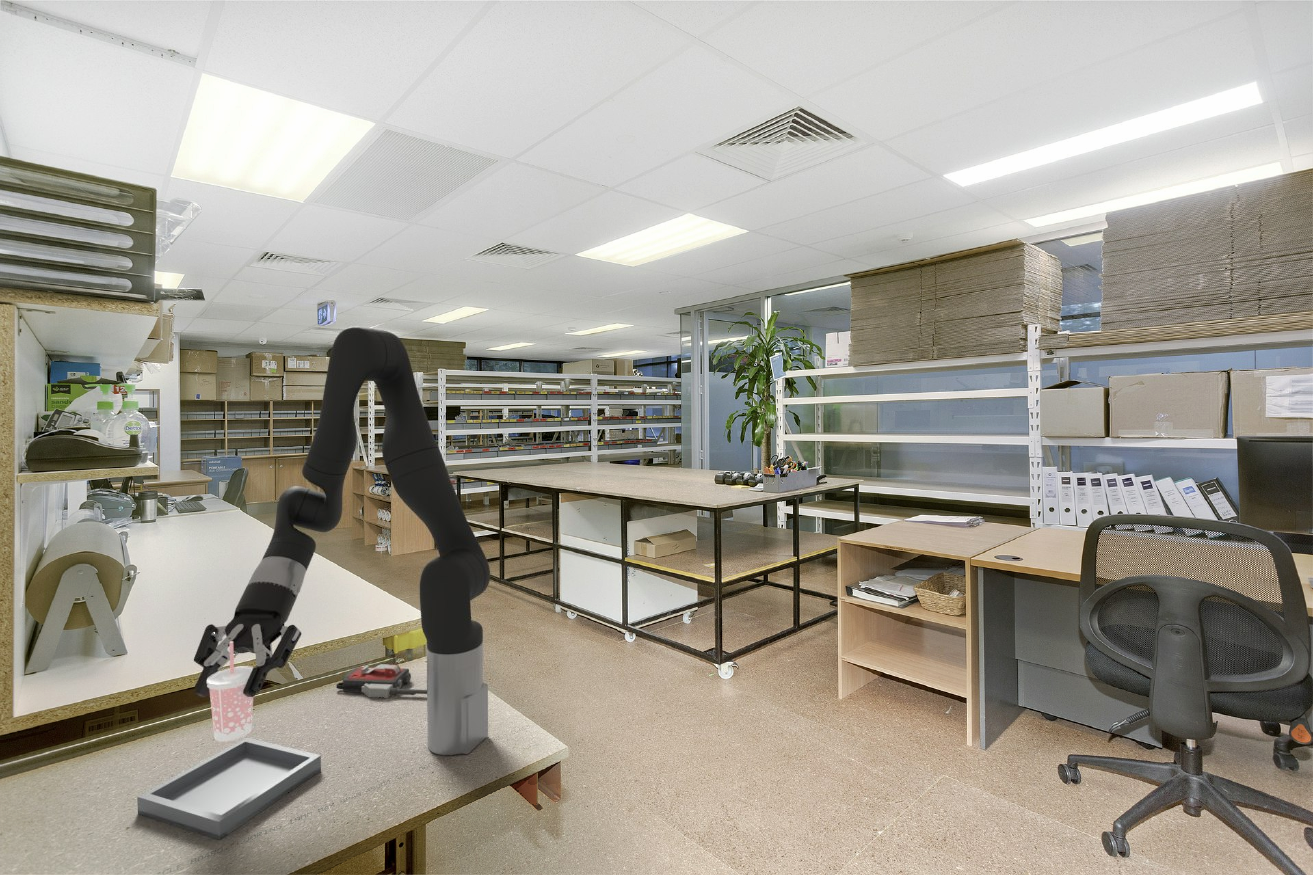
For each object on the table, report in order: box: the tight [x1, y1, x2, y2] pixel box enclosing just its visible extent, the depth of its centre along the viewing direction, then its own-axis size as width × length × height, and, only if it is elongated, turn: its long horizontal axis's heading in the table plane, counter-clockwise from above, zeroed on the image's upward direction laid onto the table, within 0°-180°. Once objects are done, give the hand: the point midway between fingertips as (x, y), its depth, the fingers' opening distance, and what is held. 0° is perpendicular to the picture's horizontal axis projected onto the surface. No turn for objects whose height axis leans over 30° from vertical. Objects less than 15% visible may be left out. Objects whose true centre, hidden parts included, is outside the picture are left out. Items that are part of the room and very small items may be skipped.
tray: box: [136, 737, 322, 841], centre depth 88 cm, size 16×16×2 cm
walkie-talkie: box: [336, 663, 427, 699], centre depth 122 cm, size 9×4×20 cm
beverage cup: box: [207, 641, 254, 743], centre depth 88 cm, size 6×6×14 cm
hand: (224, 694), depth 86 cm, fingers closed on beverage cup, 6 cm apart
